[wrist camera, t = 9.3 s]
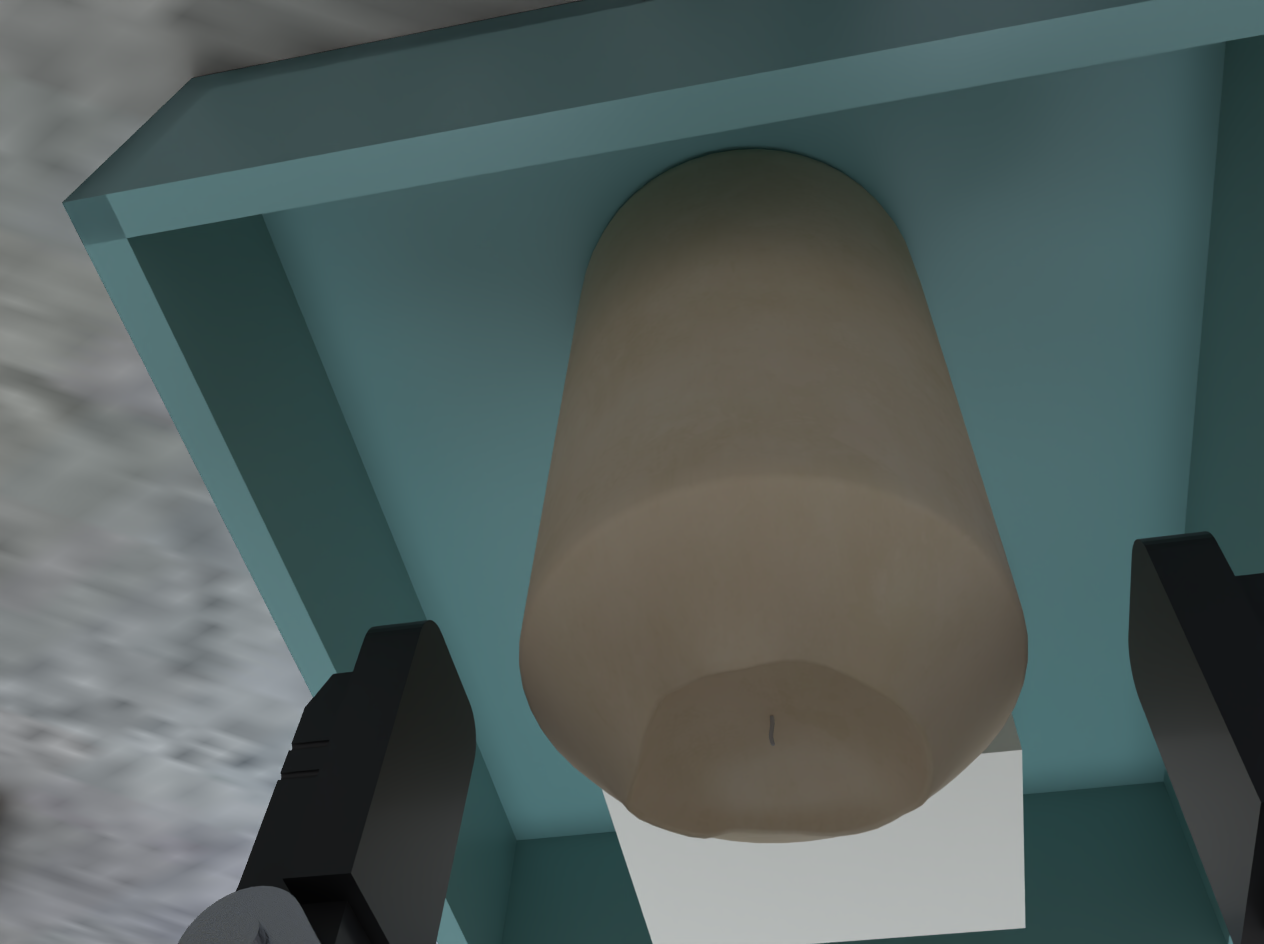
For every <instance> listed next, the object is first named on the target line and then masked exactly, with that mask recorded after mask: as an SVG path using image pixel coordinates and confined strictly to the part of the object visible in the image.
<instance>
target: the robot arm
mask: <svg viewBox="0 0 1264 944" xmlns="http://www.w3.org/2000/svg"><path fill="white" fill-rule="evenodd" d="M1128 648H1129V658H1130V665H1131V671H1132V676H1133V680H1134V684H1135V688H1136V691H1137V694H1138V697H1139V700H1140V702H1141V705H1142V708H1143V710H1144V713H1145V715H1146V718H1147V721H1148V723H1149V726H1150V728H1151V731H1152V734H1153V736H1154V739H1155V741H1156V744H1157V747H1158V749H1159V752H1160V754H1161V757H1162V760H1163V762H1164V765H1165V767H1166V770H1167V773H1168V775H1169V778H1170V780H1171V783H1172V786H1173V788H1174V791H1175V793H1176V796H1177V799H1178V801H1179V804H1180V806H1181V809H1182V812H1183V814H1184V817H1185V819H1186V822H1187V825H1188V827H1189V830H1190V832H1191V835H1192V838H1193V840H1194V843H1195V845H1196V848H1197V851H1198V853H1199V856H1200V858H1201V861H1202V864H1203V866H1204V869H1205V871H1206V874H1207V877H1208V879H1209V882H1210V884H1211V887H1212V890H1213V892H1214V895H1215V897H1216V900H1217V903H1218V905H1219V908H1220V910H1221V913H1222V916H1223V918H1224V921H1225V923H1226V926H1227V929H1228V931H1229V934H1230V937H1231V939H1232V942H1233V944H1264V573H1258V574H1249V575H1240V576H1235V575H1234V573H1233V571H1232V569H1231V567H1230V565H1229V564H1228V562H1227V560H1226V558H1225V556H1224V554H1223V552H1222V550H1221V549H1220V547H1219V545H1218V543H1217V541H1216V539H1215V538H1214V536H1213V535H1212V534H1211V533H1210V532H1208V531H1202V532H1194V533H1185V534H1176V535H1168V536H1159V537H1151V538H1142V539H1136V540H1135V541H1134V544H1133V548H1132V559H1131V583H1130V607H1129V631H1128ZM475 753H476V729H475V721H474V716H473V711H472V708H471V705H470V702H469V700H468V697H467V695H466V692H465V690H464V687H463V685H462V682H461V680H460V677H459V675H458V672H457V670H456V667H455V665H454V662H453V660H452V658H451V655H450V653H449V650H448V648H447V645H446V643H445V640H444V638H443V635H442V633H441V631H440V628H439V627H438V625H437V624H436V623H435V622H434V621H432V620H424V621H415V622H407V623H398V624H390V625H381V626H374V627H371V628H370V629H369V630H368V631H367V633H366V635H365V638H364V640H363V643H362V646H361V649H360V652H359V655H358V658H357V661H356V664H355V667H354V670H353V672H345V673H336V674H332V676H331V677H330V678H329V679H328V680H327V682H326V683H325V684H324V685H323V686H322V688H321V689H320V690H319V691H318V692H317V694H316V695H315V696H314V697H313V698H312V700H311V701H310V702H309V703H308V705H307V706H306V707H305V709H304V712H303V714H302V717H301V720H300V722H299V725H298V728H297V730H296V733H295V736H294V738H293V741H292V750H291V751H289V752H288V754H287V757H286V760H285V762H284V765H283V768H282V770H281V780H278V781H277V784H276V787H275V789H274V792H273V795H272V797H271V800H270V803H269V805H268V808H267V811H266V813H265V816H264V819H263V821H262V824H261V827H260V829H259V832H258V835H257V837H256V840H255V843H254V845H253V848H252V851H251V854H250V856H249V859H248V862H247V864H246V867H245V870H244V872H243V875H242V878H241V880H240V883H239V885H238V888H237V890H236V892H234V893H231V894H229V895H227V896H225V897H223V898H222V899H220V900H218V901H217V902H215V903H214V904H212V905H211V906H209V907H208V908H207V909H206V910H205V911H203V912H202V913H201V914H200V915H199V916H198V917H197V918H196V919H195V920H194V921H193V922H192V923H191V925H190V926H189V927H188V928H187V930H186V931H185V933H184V934H183V935H182V937H181V939H180V941H179V943H178V944H436V941H437V936H438V931H439V927H440V922H441V917H442V912H443V907H444V903H445V898H446V893H447V888H448V884H449V879H450V874H451V869H452V865H453V860H454V855H455V850H456V846H457V841H458V836H459V831H460V826H461V822H462V817H463V812H464V807H465V803H466V798H467V793H468V788H469V784H470V779H471V774H472V769H473V765H474V760H475Z"/></svg>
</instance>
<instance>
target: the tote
mask: <svg viewBox="0 0 1264 944" xmlns="http://www.w3.org/2000/svg"><path fill="white" fill-rule="evenodd" d="M743 149H765V150H777V151H784V152H788V153H793V154H798V155H802V156H805V157H808V158H811V159H814V160H817V161H819V162H822V163H825V164H827V165H829V166H831V167H832V168H834V169H836V170H838V171H840V172H842V173H844V174H845V175H847V176H848V177H850V178H851V179H852V180H854V181H855V182H857V183H858V184H860V185H861V186H862V187H863V188H864V189H865V190H866V191H867V192H868V193H870V194H871V195H872V196H873V197H874V198H875V199H876V200H877V201H878V202H879V204H880V205H881V206H882V207H883V209H884V210H885V211H886V212H887V214H888V215H889V216H890V218H891V219H892V220H893V221H894V223H895V224H896V226H897V228H898V229H899V231H900V233H901V235H902V236H903V238H904V240H905V242H906V245H907V247H908V250H909V252H910V255H911V258H912V260H913V263H914V266H915V268H916V271H917V274H918V277H919V279H920V282H921V285H922V288H923V292H924V295H925V298H926V301H927V304H928V308H929V311H930V314H931V317H932V320H933V324H934V327H935V330H936V333H937V336H938V340H939V343H940V346H941V349H942V352H943V356H944V359H945V362H946V365H947V368H948V372H949V375H950V378H951V381H952V384H953V388H954V391H955V394H956V397H957V400H958V404H959V407H960V410H961V413H962V416H963V420H964V423H965V426H966V429H967V432H968V436H969V439H970V442H971V445H972V448H973V452H974V455H975V458H976V461H977V464H978V468H979V471H980V474H981V477H982V480H983V484H984V487H985V490H986V493H987V496H988V500H989V503H990V506H991V509H992V512H993V516H994V519H995V522H996V525H997V528H998V532H999V535H1000V538H1001V541H1002V544H1003V548H1004V551H1005V554H1006V557H1007V560H1008V564H1009V567H1010V570H1011V573H1012V577H1013V580H1014V583H1015V586H1016V589H1017V593H1018V596H1019V599H1020V603H1021V606H1022V609H1023V613H1024V618H1025V623H1026V628H1027V634H1028V663H1027V668H1026V674H1025V679H1024V684H1023V687H1022V689H1021V692H1020V695H1019V697H1018V700H1017V703H1016V706H1015V708H1014V709H1013V711H1012V716H1013V719H1014V723H1015V726H1016V730H1017V733H1018V737H1019V741H1020V744H1021V748H1022V772H1023V825H1024V878H1025V928H1018V929H1005V930H991V931H978V932H964V933H951V934H938V935H924V936H911V937H897V938H884V939H870V940H857V941H843V942H830V943H816V944H1233V942H1232V939H1231V937H1230V934H1229V931H1228V929H1227V926H1226V923H1225V921H1224V918H1223V916H1222V913H1221V910H1220V908H1219V905H1218V903H1217V900H1216V897H1215V895H1214V892H1213V890H1212V887H1211V884H1210V882H1209V879H1208V877H1207V874H1206V871H1205V869H1204V866H1203V864H1202V861H1201V858H1200V856H1199V853H1198V851H1197V848H1196V845H1195V843H1194V840H1193V838H1192V835H1191V832H1190V830H1189V827H1188V825H1187V822H1186V819H1185V817H1184V814H1183V812H1182V809H1181V806H1180V804H1179V801H1178V799H1177V796H1176V793H1175V791H1174V788H1173V786H1172V783H1171V780H1170V778H1169V775H1168V773H1167V770H1166V767H1165V765H1164V762H1163V760H1162V757H1161V754H1160V752H1159V749H1158V747H1157V744H1156V741H1155V739H1154V736H1153V734H1152V731H1151V728H1150V726H1149V723H1148V721H1147V718H1146V715H1145V713H1144V710H1143V708H1142V705H1141V702H1140V700H1139V697H1138V694H1137V691H1136V688H1135V684H1134V680H1133V676H1132V671H1131V665H1130V658H1129V648H1128V631H1129V607H1130V583H1131V559H1132V548H1133V544H1134V541H1135V540H1136V539H1142V538H1151V537H1159V536H1168V535H1176V534H1185V533H1194V532H1202V531H1208V532H1210V533H1211V534H1212V535H1213V536H1214V538H1215V539H1216V541H1217V543H1218V545H1219V547H1220V549H1221V550H1222V552H1223V554H1224V556H1225V558H1226V560H1227V562H1228V564H1229V565H1230V567H1231V569H1232V571H1233V573H1234V575H1235V576H1240V575H1249V574H1258V573H1264V0H582V1H577V2H572V3H567V4H562V5H557V6H552V7H547V8H542V9H537V10H532V11H527V12H522V13H517V14H512V15H507V16H502V17H497V18H492V19H487V20H482V21H477V22H472V23H467V24H462V25H457V26H452V27H447V28H442V29H437V30H432V31H427V32H422V33H417V34H412V35H407V36H402V37H397V38H392V39H387V40H382V41H377V42H372V43H367V44H362V45H357V46H352V47H347V48H342V49H337V50H332V51H327V52H322V53H317V54H312V55H307V56H302V57H296V58H291V59H286V60H281V61H276V62H271V63H266V64H261V65H256V66H251V67H246V68H241V69H236V70H231V71H226V72H221V73H216V74H211V75H206V76H201V77H196V78H192V79H191V80H190V81H189V82H187V83H186V84H185V85H184V86H183V87H182V88H181V89H180V90H179V91H178V92H177V93H176V94H175V95H174V96H173V97H172V98H171V99H170V100H169V101H168V102H167V103H166V104H165V105H163V106H162V107H161V108H160V109H159V110H158V111H157V112H156V113H155V114H154V115H153V116H152V117H151V118H150V119H149V120H148V121H147V122H146V123H145V124H144V125H143V126H142V127H141V128H139V129H138V130H137V131H136V132H135V133H134V134H133V135H132V136H131V137H130V138H129V139H128V140H127V141H126V142H125V143H124V144H123V145H122V146H121V147H120V148H119V149H118V150H117V151H116V152H114V153H113V154H112V155H111V156H110V157H109V158H108V159H107V160H106V161H105V162H104V163H103V164H102V165H101V166H100V167H99V168H98V169H97V170H96V171H95V172H94V173H93V174H92V175H90V176H89V177H88V178H87V179H86V180H85V181H84V182H83V183H82V184H81V185H80V186H79V187H78V188H77V189H76V190H75V191H74V192H73V193H72V194H71V195H70V196H69V197H68V198H66V199H65V200H64V201H63V202H62V203H63V205H64V207H65V209H66V211H67V213H68V215H69V217H70V219H71V221H72V223H73V225H74V227H75V229H76V231H77V233H78V235H79V237H80V239H81V241H82V243H83V245H84V247H85V249H86V251H87V253H88V255H89V257H90V259H91V260H92V262H93V264H94V266H95V268H96V270H97V272H98V274H99V276H100V278H101V280H102V282H103V284H104V286H105V288H106V290H107V292H108V294H109V296H110V298H111V300H112V302H113V304H114V306H115V308H116V310H117V312H118V314H119V316H120V318H121V320H122V322H123V324H124V326H125V327H126V329H127V331H128V333H129V335H130V337H131V339H132V341H133V343H134V345H135V347H136V349H137V351H138V353H139V355H140V357H141V359H142V361H143V363H144V365H145V367H146V369H147V371H148V373H149V375H150V377H151V379H152V381H153V383H154V385H155V387H156V389H157V391H158V393H159V394H160V396H161V398H162V400H163V402H164V404H165V406H166V408H167V410H168V412H169V414H170V416H171V418H172V420H173V422H174V424H175V426H176V428H177V430H178V432H179V434H180V436H181V438H182V440H183V442H184V444H185V446H186V448H187V450H188V452H189V454H190V456H191V458H192V460H193V461H194V463H195V465H196V467H197V469H198V471H199V473H200V475H201V477H202V479H203V481H204V483H205V485H206V487H207V489H208V491H209V493H210V495H211V497H212V499H213V501H214V503H215V505H216V507H217V509H218V511H219V513H220V515H221V517H222V519H223V521H224V523H225V525H226V527H227V528H228V530H229V532H230V534H231V536H232V538H233V540H234V542H235V544H236V546H237V548H238V550H239V552H240V554H241V556H242V558H243V560H244V562H245V564H246V566H247V568H248V570H249V572H250V574H251V576H252V578H253V580H254V582H255V584H256V586H257V588H258V590H259V592H260V594H261V595H262V597H263V599H264V601H265V603H266V605H267V607H268V609H269V611H270V613H271V615H272V617H273V619H274V621H275V623H276V625H277V627H278V629H279V631H280V633H281V635H282V637H283V639H284V641H285V643H286V645H287V647H288V649H289V651H290V653H291V655H292V657H293V659H294V661H295V662H296V664H297V666H298V668H299V670H300V672H301V674H302V676H303V678H304V680H305V682H306V684H307V686H308V688H309V690H310V692H311V694H312V696H313V697H314V696H315V695H316V694H317V692H318V691H319V690H320V689H321V688H322V686H323V685H324V684H325V683H326V682H327V680H328V679H329V678H330V677H331V676H332V674H336V673H345V672H353V670H354V667H355V664H356V661H357V658H358V655H359V652H360V649H361V646H362V643H363V640H364V638H365V635H366V633H367V631H368V630H369V629H370V628H371V627H374V626H381V625H390V624H398V623H407V622H415V621H424V620H432V621H434V622H435V623H436V624H437V625H438V627H439V628H440V631H441V633H442V635H443V638H444V640H445V643H446V645H447V648H448V650H449V653H450V655H451V658H452V660H453V662H454V665H455V667H456V670H457V672H458V675H459V677H460V680H461V682H462V685H463V687H464V690H465V692H466V695H467V697H468V700H469V702H470V705H471V708H472V711H473V716H474V721H475V729H476V753H475V760H474V765H473V769H472V774H471V779H470V784H469V788H468V793H467V798H466V803H465V807H464V812H463V817H462V822H461V826H460V831H459V836H458V841H457V846H456V850H455V855H454V860H453V865H452V869H451V874H450V879H449V884H448V888H447V893H446V898H445V903H444V907H443V912H442V917H441V922H440V927H439V931H438V936H437V942H438V944H653V943H652V940H651V937H650V934H649V931H648V928H647V925H646V922H645V919H644V916H643V913H642V910H641V907H640V903H639V900H638V897H637V894H636V891H635V888H634V885H633V882H632V879H631V876H630V873H629V870H628V867H627V864H626V861H625V858H624V855H623V852H622V849H621V846H620V843H619V840H618V837H617V834H616V831H615V828H614V824H613V821H612V818H611V815H610V812H609V809H608V806H607V803H606V800H605V797H604V794H603V791H602V789H601V788H600V787H599V786H597V785H596V784H595V783H593V782H592V781H591V780H590V779H588V778H587V777H586V776H584V775H583V774H582V773H581V772H579V771H578V770H577V769H576V768H574V767H573V766H572V765H571V764H570V763H569V762H568V761H567V760H566V759H565V758H564V757H563V756H562V755H561V754H560V753H559V752H558V751H557V750H556V748H555V747H554V746H553V744H552V743H551V742H550V740H549V739H548V738H547V737H546V735H545V734H544V733H543V731H542V730H541V728H540V726H539V724H538V722H537V721H536V719H535V717H534V715H533V713H532V712H531V710H530V707H529V704H528V701H527V698H526V695H525V693H524V690H523V686H522V680H521V674H520V668H519V641H520V635H521V629H522V623H523V617H524V611H525V605H526V600H527V594H528V588H529V583H530V577H531V571H532V566H533V560H534V554H535V549H536V543H537V537H538V532H539V526H540V520H541V515H542V509H543V503H544V498H545V492H546V486H547V481H548V475H549V469H550V464H551V458H552V452H553V447H554V441H555V435H556V430H557V424H558V418H559V413H560V407H561V401H562V396H563V390H564V384H565V379H566V373H567V367H568V362H569V356H570V351H571V345H572V339H573V334H574V328H575V322H576V317H577V311H578V306H579V301H580V296H581V291H582V287H583V282H584V278H585V273H586V270H587V267H588V264H589V261H590V259H591V256H592V253H593V251H594V249H595V247H596V245H597V243H598V241H599V239H600V237H601V236H602V234H603V232H604V230H605V229H606V227H607V226H608V224H609V223H610V221H611V220H612V219H613V217H614V216H615V215H616V213H617V212H618V210H619V209H620V208H621V207H622V206H623V205H624V204H625V203H626V202H627V201H628V200H629V199H630V198H631V197H632V196H633V195H634V194H635V193H636V192H637V191H639V190H640V189H641V188H642V187H644V186H645V185H646V184H647V183H649V182H650V181H651V180H653V179H655V178H656V177H658V176H659V175H661V174H663V173H664V172H666V171H668V170H669V169H672V168H674V167H676V166H678V165H681V164H683V163H685V162H687V161H690V160H693V159H696V158H699V157H703V156H706V155H709V154H713V153H719V152H725V151H731V150H743Z"/></svg>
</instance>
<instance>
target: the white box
mask: <svg viewBox="0 0 1264 944" xmlns="http://www.w3.org/2000/svg"><path fill="white" fill-rule="evenodd" d="M602 791H603V794H604V797H605V800H606V803H607V806H608V809H609V812H610V815H611V818H612V821H613V824H614V828H615V831H616V834H617V837H618V840H619V843H620V846H621V849H622V852H623V855H624V858H625V861H626V864H627V867H628V870H629V873H630V876H631V879H632V882H633V885H634V888H635V891H636V894H637V897H638V900H639V903H640V907H641V910H642V913H643V916H644V919H645V922H646V925H647V928H648V931H649V934H650V937H651V940H652V943H653V944H816V943H830V942H843V941H857V940H870V939H884V938H897V937H911V936H924V935H938V934H951V933H964V932H978V931H991V930H1005V929H1018V928H1025V878H1024V825H1023V772H1022V748H1021V744H1020V741H1019V737H1018V733H1017V730H1016V726H1015V723H1014V719H1013V716H1012V713H1011V715H1010V716H1009V718H1008V720H1007V722H1006V723H1005V725H1004V727H1003V728H1002V730H1001V731H1000V732H999V733H998V735H997V736H996V737H995V738H994V740H993V741H992V742H991V743H990V745H989V746H988V747H987V748H986V749H985V750H984V751H983V752H982V753H981V754H980V755H979V756H978V757H977V758H976V759H975V760H974V761H973V762H972V763H971V764H970V765H969V766H968V767H967V768H966V769H965V770H964V771H962V772H961V773H960V774H959V775H958V776H957V777H956V778H955V779H953V780H952V781H951V782H950V783H948V784H947V785H946V786H945V787H943V788H942V789H941V790H940V791H938V792H937V793H936V794H934V795H933V796H931V797H930V798H929V799H927V801H926V802H925V803H924V804H923V805H922V806H920V807H919V808H917V809H916V810H914V811H911V812H909V813H907V814H904V815H903V816H901V817H899V818H898V819H896V820H894V821H893V822H891V823H889V824H886V825H884V826H882V827H880V828H878V829H875V830H871V831H868V832H864V833H860V834H856V835H848V836H840V837H834V838H828V839H821V840H814V841H807V842H794V843H749V842H737V841H729V840H723V839H716V838H707V839H702V838H693V837H687V836H684V835H680V834H677V833H673V832H670V831H667V830H664V829H661V828H658V827H656V826H653V825H651V824H649V823H646V822H644V821H642V820H640V819H638V818H637V817H635V816H634V815H633V814H632V813H630V812H629V811H628V810H627V809H626V807H625V806H624V805H623V804H622V803H621V802H619V801H618V800H616V799H615V798H614V797H612V796H611V795H609V794H608V793H606V792H605V791H604V790H603V789H602Z"/></svg>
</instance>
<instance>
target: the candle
mask: <svg viewBox="0 0 1264 944" xmlns="http://www.w3.org/2000/svg"><path fill="white" fill-rule="evenodd" d="M1027 663H1028V634H1027V628H1026V623H1025V618H1024V613H1023V609H1022V606H1021V603H1020V599H1019V596H1018V593H1017V589H1016V586H1015V583H1014V580H1013V577H1012V573H1011V570H1010V567H1009V564H1008V560H1007V557H1006V554H1005V551H1004V548H1003V544H1002V541H1001V538H1000V535H999V532H998V528H997V525H996V522H995V519H994V516H993V512H992V509H991V506H990V503H989V500H988V496H987V493H986V490H985V487H984V484H983V480H982V477H981V474H980V471H979V468H978V464H977V461H976V458H975V455H974V452H973V448H972V445H971V442H970V439H969V436H968V432H967V429H966V426H965V423H964V420H963V416H962V413H961V410H960V407H959V404H958V400H957V397H956V394H955V391H954V388H953V384H952V381H951V378H950V375H949V372H948V368H947V365H946V362H945V359H944V356H943V352H942V349H941V346H940V343H939V340H938V336H937V333H936V330H935V327H934V324H933V320H932V317H931V314H930V311H929V308H928V304H927V301H926V298H925V295H924V292H923V288H922V285H921V282H920V279H919V277H918V274H917V271H916V268H915V266H914V263H913V260H912V258H911V255H910V252H909V250H908V247H907V245H906V242H905V240H904V238H903V236H902V235H901V233H900V231H899V229H898V228H897V226H896V224H895V223H894V221H893V220H892V219H891V218H890V216H889V215H888V214H887V212H886V211H885V210H884V209H883V207H882V206H881V205H880V204H879V202H878V201H877V200H876V199H875V198H874V197H873V196H872V195H871V194H870V193H868V192H867V191H866V190H865V189H864V188H863V187H862V186H861V185H860V184H858V183H857V182H855V181H854V180H852V179H851V178H850V177H848V176H847V175H845V174H844V173H842V172H840V171H838V170H836V169H834V168H832V167H831V166H829V165H827V164H825V163H822V162H819V161H817V160H814V159H811V158H808V157H805V156H802V155H798V154H793V153H788V152H784V151H777V150H765V149H743V150H731V151H725V152H719V153H713V154H709V155H706V156H703V157H699V158H696V159H693V160H690V161H687V162H685V163H683V164H681V165H678V166H676V167H674V168H672V169H669V170H668V171H666V172H664V173H663V174H661V175H659V176H658V177H656V178H655V179H653V180H651V181H650V182H649V183H647V184H646V185H645V186H644V187H642V188H641V189H640V190H639V191H637V192H636V193H635V194H634V195H633V196H632V197H631V198H630V199H629V200H628V201H627V202H626V203H625V204H624V205H623V206H622V207H621V208H620V209H619V210H618V212H617V213H616V215H615V216H614V217H613V219H612V220H611V221H610V223H609V224H608V226H607V227H606V229H605V230H604V232H603V234H602V236H601V237H600V239H599V241H598V243H597V245H596V247H595V249H594V251H593V253H592V256H591V259H590V261H589V264H588V267H587V270H586V273H585V278H584V282H583V287H582V291H581V296H580V301H579V306H578V311H577V317H576V322H575V328H574V334H573V339H572V345H571V351H570V356H569V362H568V367H567V373H566V379H565V384H564V390H563V396H562V401H561V407H560V413H559V418H558V424H557V430H556V435H555V441H554V447H553V452H552V458H551V464H550V469H549V475H548V481H547V486H546V492H545V498H544V503H543V509H542V515H541V520H540V526H539V532H538V537H537V543H536V549H535V554H534V560H533V566H532V571H531V577H530V583H529V588H528V594H527V600H526V605H525V611H524V617H523V623H522V629H521V635H520V641H519V668H520V674H521V680H522V686H523V690H524V693H525V695H526V698H527V701H528V704H529V707H530V710H531V712H532V713H533V715H534V717H535V719H536V721H537V722H538V724H539V726H540V728H541V730H542V731H543V733H544V734H545V735H546V737H547V738H548V739H549V740H550V742H551V743H552V744H553V746H554V747H555V748H556V750H557V751H558V752H559V753H560V754H561V755H562V756H563V757H564V758H565V759H566V760H567V761H568V762H569V763H570V764H571V765H572V766H573V767H574V768H576V769H577V770H578V771H579V772H581V773H582V774H583V775H584V776H586V777H587V778H588V779H590V780H591V781H592V782H593V783H595V784H596V785H597V786H599V787H600V788H601V789H603V790H604V791H605V792H606V793H608V794H609V795H611V796H612V797H614V798H615V799H616V800H618V801H619V802H621V803H622V804H623V805H624V806H625V807H626V809H627V810H628V811H629V812H630V813H632V814H633V815H634V816H635V817H637V818H638V819H640V820H642V821H644V822H646V823H649V824H651V825H653V826H656V827H658V828H661V829H664V830H667V831H670V832H673V833H677V834H680V835H684V836H687V837H693V838H702V839H707V838H716V839H723V840H729V841H737V842H749V843H794V842H807V841H814V840H821V839H828V838H834V837H840V836H848V835H856V834H860V833H864V832H868V831H871V830H875V829H878V828H880V827H882V826H884V825H886V824H889V823H891V822H893V821H894V820H896V819H898V818H899V817H901V816H903V815H904V814H907V813H909V812H911V811H914V810H916V809H917V808H919V807H920V806H922V805H923V804H924V803H925V802H926V801H927V799H929V798H930V797H931V796H933V795H934V794H936V793H937V792H938V791H940V790H941V789H942V788H943V787H945V786H946V785H947V784H948V783H950V782H951V781H952V780H953V779H955V778H956V777H957V776H958V775H959V774H960V773H961V772H962V771H964V770H965V769H966V768H967V767H968V766H969V765H970V764H971V763H972V762H973V761H974V760H975V759H976V758H977V757H978V756H979V755H980V754H981V753H982V752H983V751H984V750H985V749H986V748H987V747H988V746H989V745H990V743H991V742H992V741H993V740H994V738H995V737H996V736H997V735H998V733H999V732H1000V731H1001V730H1002V728H1003V727H1004V725H1005V723H1006V722H1007V720H1008V718H1009V716H1010V715H1011V713H1012V711H1013V709H1014V708H1015V706H1016V703H1017V700H1018V697H1019V695H1020V692H1021V689H1022V687H1023V684H1024V679H1025V674H1026V668H1027Z"/></svg>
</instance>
